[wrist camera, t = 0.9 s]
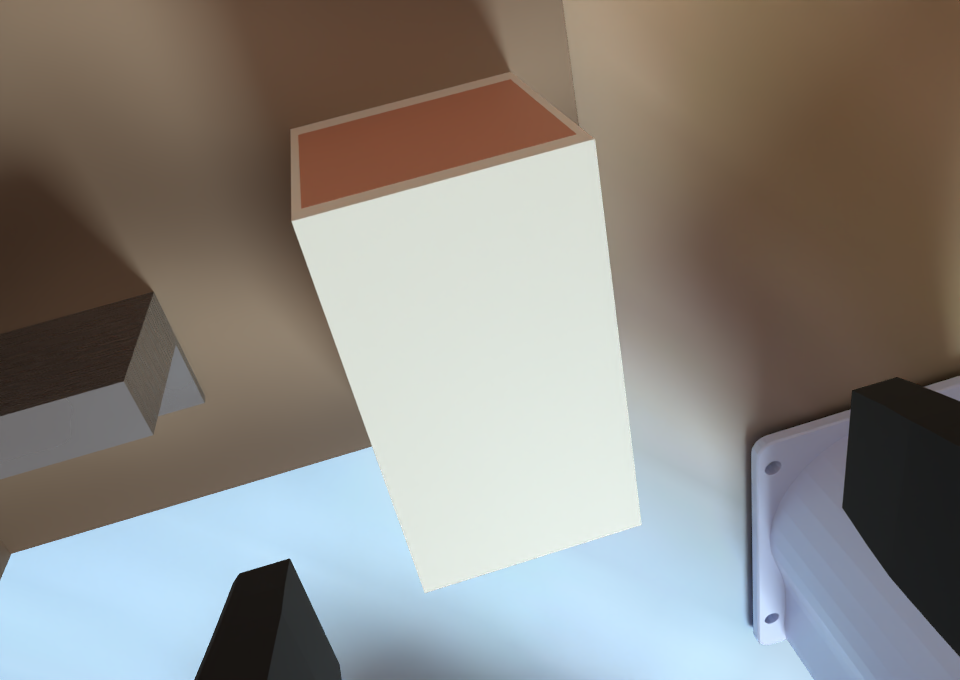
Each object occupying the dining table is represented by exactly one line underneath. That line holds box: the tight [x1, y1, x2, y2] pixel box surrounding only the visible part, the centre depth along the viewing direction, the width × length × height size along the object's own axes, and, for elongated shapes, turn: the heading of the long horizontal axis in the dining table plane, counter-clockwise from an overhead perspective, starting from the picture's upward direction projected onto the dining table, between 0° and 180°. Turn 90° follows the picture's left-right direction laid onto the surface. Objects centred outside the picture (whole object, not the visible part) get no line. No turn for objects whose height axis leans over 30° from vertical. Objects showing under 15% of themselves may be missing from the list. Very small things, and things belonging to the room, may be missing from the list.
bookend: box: [0, 292, 206, 479], centre depth 15 cm, size 3×6×4 cm, turn 101°
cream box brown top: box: [290, 72, 642, 593], centre depth 15 cm, size 4×8×5 cm, turn 11°
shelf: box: [0, 0, 579, 579], centre depth 14 cm, size 14×16×4 cm
